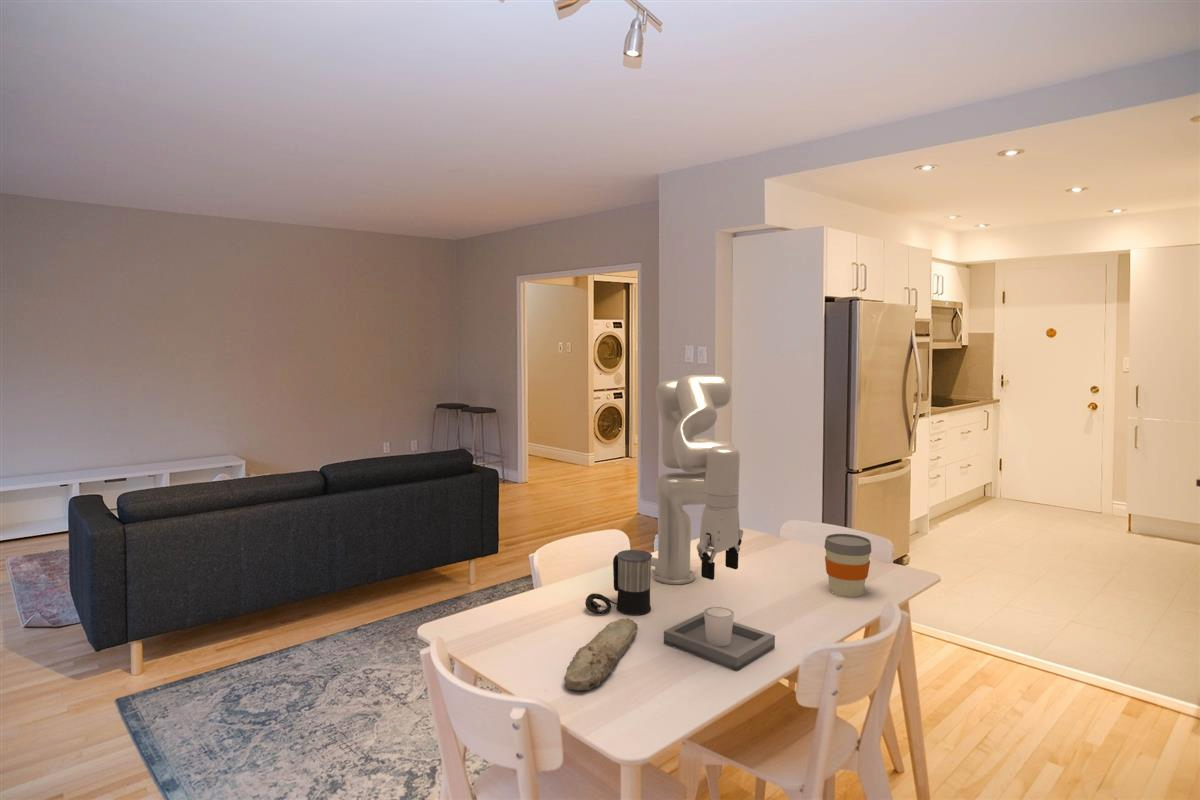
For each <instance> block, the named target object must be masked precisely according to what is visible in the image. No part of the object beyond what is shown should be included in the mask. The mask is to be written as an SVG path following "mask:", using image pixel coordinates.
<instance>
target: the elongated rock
mask: <svg viewBox="0 0 1200 800" xmlns="http://www.w3.org/2000/svg"><path fill="white" fill-rule="evenodd" d="M637 630H638V623H636V622H635V621H634V620H633V619H630V618H619V619H617V620H614V621H611V622H609V623H608V624H607V625H605V627H604V628H603V629H601V630H600V631H598V633H597V634H596V635H595V636H594V638H592V639H591V640H590V641H589V642H587V643H586V644H585V645H584V646H582V647H580V648H578V649H577V651H576V652H575V654H574V656H573V657H572V660H571V661H570V662H569V664H568V666H567V668H566V673H565V675H564V677H563V678H564V680H563V681H564V682H565V685H566V687H567V689H568V690H572V691H590V690H591V689H592V688H594V687H595V686H599V685H600V683H602V682H603V681H604V680H605V679H606V677H607V676H610V675H612V671H614V667H615V666H616V665H617V663H618V662H619V661H620V659H621V656H622V655H624V654H625V653H626V650H627V648H629V647H630V646H631V643H633V640H634V639H635V637H636V635H637ZM609 674H610V675H609Z"/></svg>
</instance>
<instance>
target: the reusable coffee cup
mask: <svg viewBox="0 0 1200 800" xmlns="http://www.w3.org/2000/svg"><path fill="white" fill-rule="evenodd" d="M824 549H825V556H824V562H825V570H826V571H825V572H826V574H827V575H828V576H827V578H828V585H829V586H828V587H829V591H830V592H831V593H832V592H833V593H832V594H834V595H836V594H837V595H836V596H839V595H840V597H844V596H845V597H846V598H858V597H861V596H863V595H864V589H865V583H866V579H867V578H868V577H869V569H870V565H871V561H870V556H871V554H872V541H871V539H869V538H867V537H864V536H862V535H857V534H852V533H851V534H850V533H833V534H828V535H826V536H825V540H824Z"/></svg>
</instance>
